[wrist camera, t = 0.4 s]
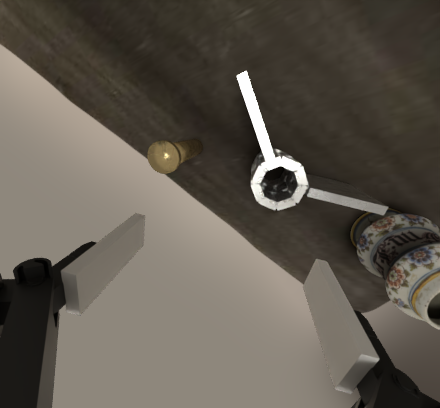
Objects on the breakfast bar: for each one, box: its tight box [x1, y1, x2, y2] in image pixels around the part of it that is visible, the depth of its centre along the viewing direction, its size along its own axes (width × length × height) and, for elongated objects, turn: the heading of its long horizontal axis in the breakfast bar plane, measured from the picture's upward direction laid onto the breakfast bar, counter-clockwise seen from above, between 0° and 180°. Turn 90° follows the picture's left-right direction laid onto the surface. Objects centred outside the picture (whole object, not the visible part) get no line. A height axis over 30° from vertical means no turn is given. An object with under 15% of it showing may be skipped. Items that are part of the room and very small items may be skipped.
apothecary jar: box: [351, 208, 440, 330], centre depth 31 cm, size 12×12×18 cm
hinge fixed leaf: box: [237, 71, 308, 210], centre depth 31 cm, size 18×7×12 cm, turn 23°
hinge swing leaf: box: [251, 150, 388, 215], centre depth 32 cm, size 18×7×12 cm, turn 78°
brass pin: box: [148, 139, 203, 174], centre depth 32 cm, size 4×4×15 cm
